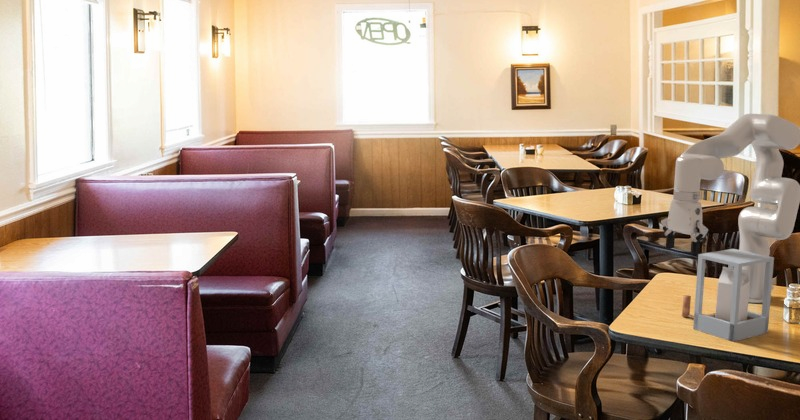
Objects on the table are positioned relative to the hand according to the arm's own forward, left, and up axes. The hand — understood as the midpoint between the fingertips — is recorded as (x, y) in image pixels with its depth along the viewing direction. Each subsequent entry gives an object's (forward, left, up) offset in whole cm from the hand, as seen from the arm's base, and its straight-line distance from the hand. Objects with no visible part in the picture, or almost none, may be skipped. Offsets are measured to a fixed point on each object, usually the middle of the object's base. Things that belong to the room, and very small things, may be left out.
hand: (682, 251), depth 263 cm
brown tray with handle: (-3, +11, -21) cm, 24 cm away
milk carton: (-3, +17, -21) cm, 28 cm away
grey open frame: (-3, +17, -21) cm, 28 cm away
